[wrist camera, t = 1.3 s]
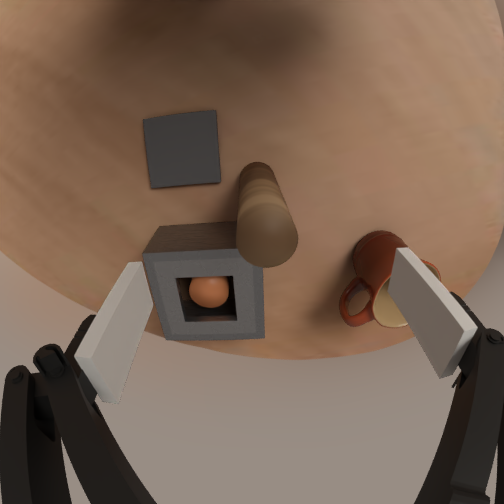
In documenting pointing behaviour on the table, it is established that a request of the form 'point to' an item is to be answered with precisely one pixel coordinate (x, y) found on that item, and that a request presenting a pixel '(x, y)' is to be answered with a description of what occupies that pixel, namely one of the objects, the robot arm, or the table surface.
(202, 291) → the orange round ball
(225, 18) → the table surface
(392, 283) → the robot arm
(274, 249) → the brown cylinder
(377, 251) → the mug
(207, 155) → the coaster
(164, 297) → the grey hollow block
